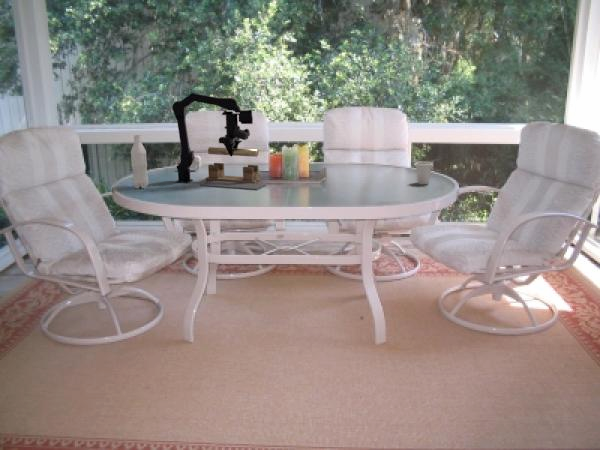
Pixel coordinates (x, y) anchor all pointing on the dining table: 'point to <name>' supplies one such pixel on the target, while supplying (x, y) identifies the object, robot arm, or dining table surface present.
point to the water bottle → (139, 163)
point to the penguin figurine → (196, 163)
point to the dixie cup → (423, 172)
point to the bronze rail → (235, 151)
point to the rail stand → (248, 176)
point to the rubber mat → (234, 185)
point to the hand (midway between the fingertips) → (233, 155)
